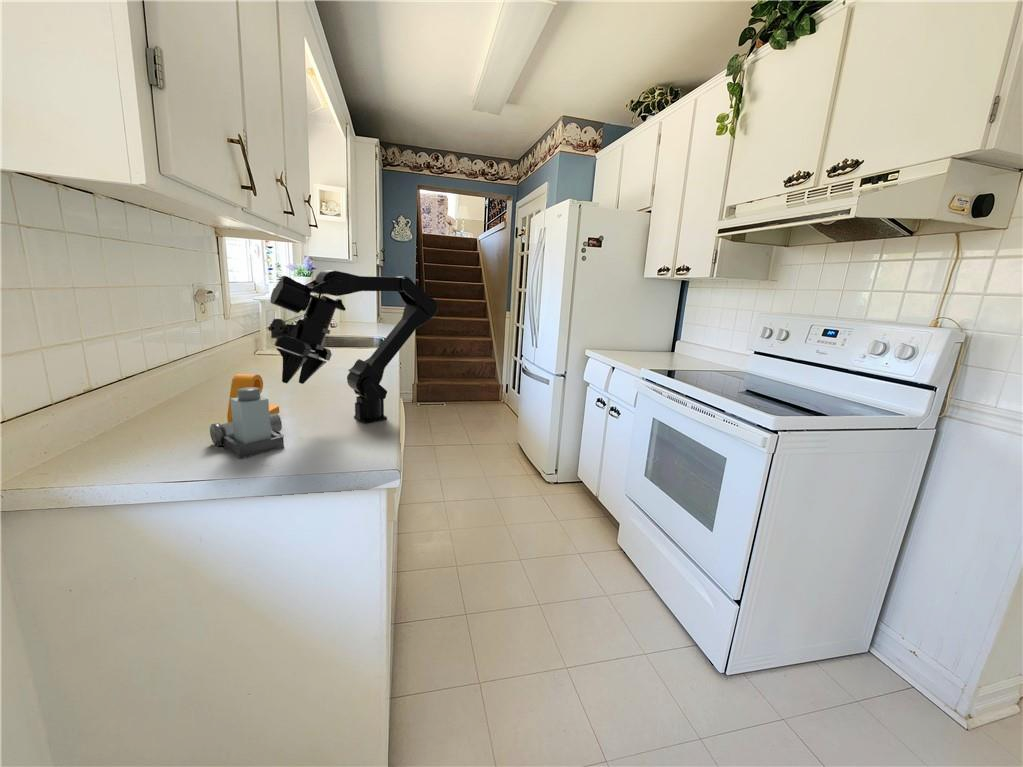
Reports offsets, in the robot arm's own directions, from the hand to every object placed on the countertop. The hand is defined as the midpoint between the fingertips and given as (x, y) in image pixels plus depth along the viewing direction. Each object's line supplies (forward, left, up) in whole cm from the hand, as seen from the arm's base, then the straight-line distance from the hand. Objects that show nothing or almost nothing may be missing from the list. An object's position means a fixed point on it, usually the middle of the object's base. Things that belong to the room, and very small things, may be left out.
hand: (293, 383), depth 99 cm
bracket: (+4, -14, -12) cm, 20 cm away
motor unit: (+9, +2, -12) cm, 15 cm away
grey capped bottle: (+10, +5, -12) cm, 17 cm away
